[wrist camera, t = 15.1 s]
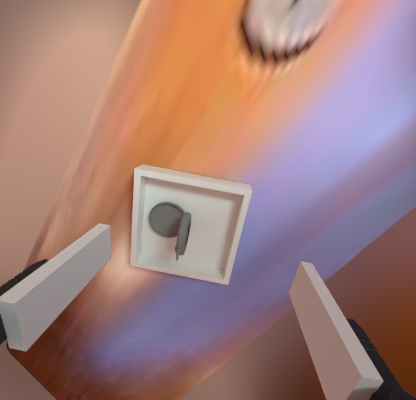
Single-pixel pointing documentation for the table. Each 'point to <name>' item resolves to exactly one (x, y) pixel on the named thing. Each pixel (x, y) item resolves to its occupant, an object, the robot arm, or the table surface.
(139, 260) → the tray
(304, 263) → the robot arm
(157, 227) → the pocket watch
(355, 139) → the table surface
